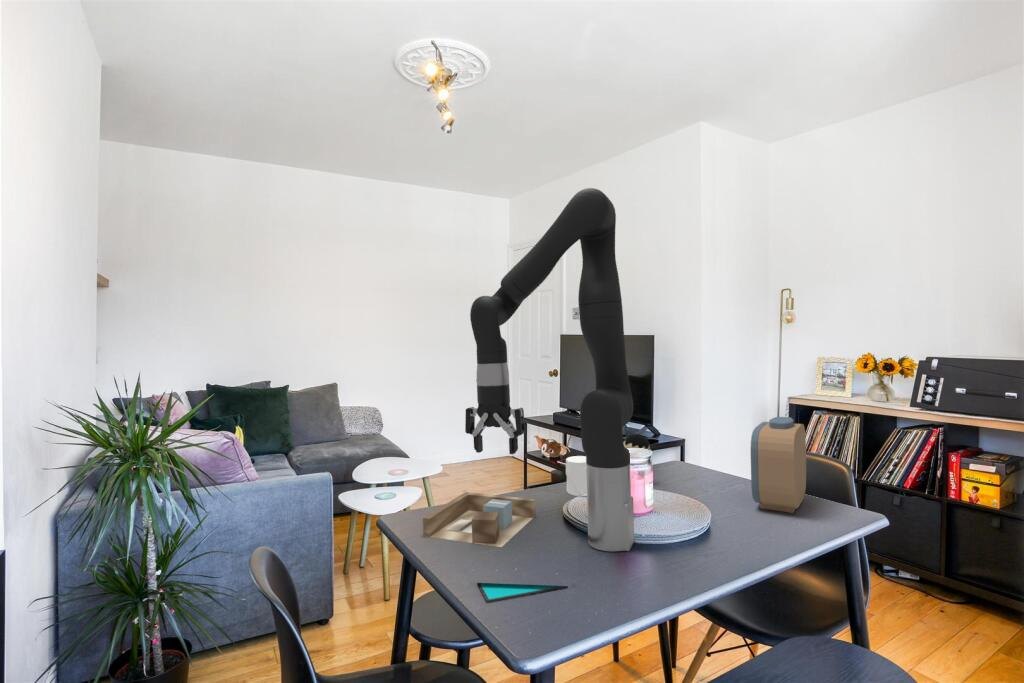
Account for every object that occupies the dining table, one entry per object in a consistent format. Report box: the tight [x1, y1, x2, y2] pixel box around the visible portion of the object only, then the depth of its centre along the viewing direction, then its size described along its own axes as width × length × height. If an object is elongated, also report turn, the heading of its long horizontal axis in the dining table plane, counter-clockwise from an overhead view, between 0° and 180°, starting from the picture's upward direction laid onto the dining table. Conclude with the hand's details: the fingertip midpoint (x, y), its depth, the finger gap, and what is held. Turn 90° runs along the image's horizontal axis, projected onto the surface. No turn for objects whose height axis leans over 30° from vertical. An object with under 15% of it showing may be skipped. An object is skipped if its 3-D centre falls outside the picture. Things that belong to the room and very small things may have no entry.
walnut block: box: [471, 512, 499, 544], centre depth 114 cm, size 5×5×5 cm
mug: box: [565, 455, 587, 497], centre depth 149 cm, size 12×9×8 cm
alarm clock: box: [750, 416, 807, 514], centre depth 135 cm, size 21×10×22 cm, turn 144°
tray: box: [422, 491, 536, 548], centre depth 123 cm, size 19×20×5 cm
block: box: [483, 499, 512, 530], centre depth 123 cm, size 5×5×5 cm
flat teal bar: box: [476, 582, 569, 604], centre depth 95 cm, size 7×1×15 cm
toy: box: [623, 433, 653, 465], centre depth 155 cm, size 9×7×15 cm
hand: (495, 452), depth 122 cm, fingers open, 8 cm apart
